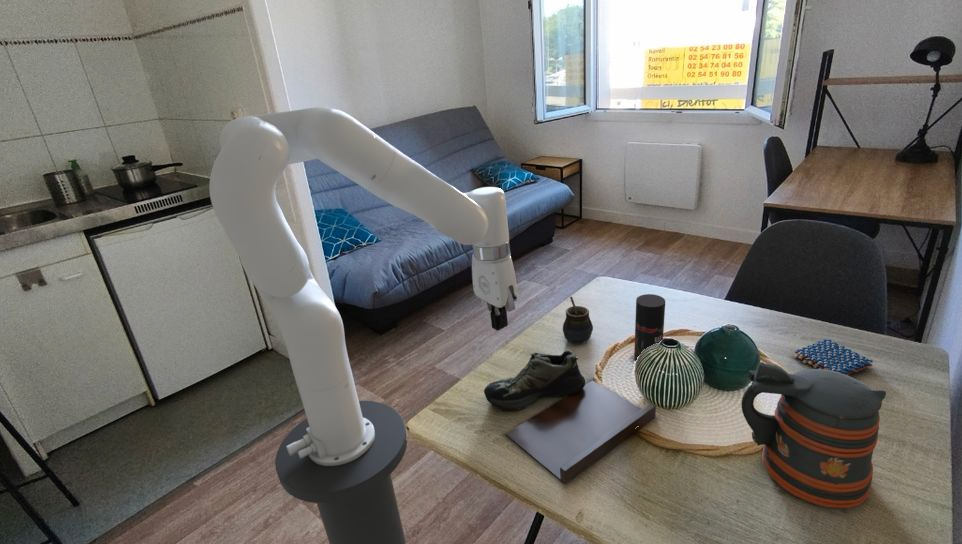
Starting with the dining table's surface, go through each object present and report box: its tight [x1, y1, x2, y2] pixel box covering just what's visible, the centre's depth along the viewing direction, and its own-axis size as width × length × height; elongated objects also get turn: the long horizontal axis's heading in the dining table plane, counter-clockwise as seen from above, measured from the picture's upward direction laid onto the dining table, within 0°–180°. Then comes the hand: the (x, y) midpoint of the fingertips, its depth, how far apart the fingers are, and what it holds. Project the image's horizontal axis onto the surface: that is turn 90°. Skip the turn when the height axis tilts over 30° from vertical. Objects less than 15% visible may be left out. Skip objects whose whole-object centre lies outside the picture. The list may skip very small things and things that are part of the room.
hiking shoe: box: [483, 350, 586, 411], centre depth 104 cm, size 8×21×9 cm, turn 104°
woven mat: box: [793, 338, 874, 376], centre depth 106 cm, size 10×11×2 cm
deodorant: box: [633, 293, 666, 362], centre depth 110 cm, size 6×6×15 cm
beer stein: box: [741, 361, 887, 510], centre depth 78 cm, size 19×15×20 cm
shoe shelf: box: [505, 380, 657, 486], centre depth 95 cm, size 24×16×3 cm, turn 127°
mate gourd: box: [562, 296, 594, 345], centre depth 122 cm, size 7×8×10 cm
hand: (500, 326), depth 109 cm, fingers closed
